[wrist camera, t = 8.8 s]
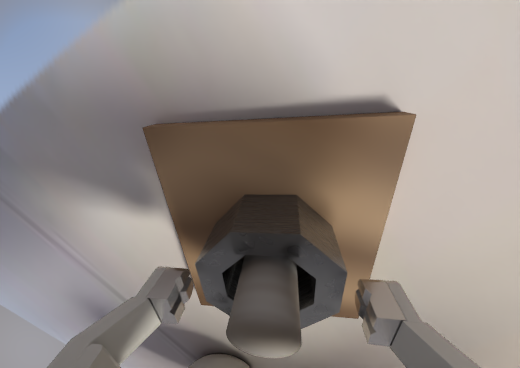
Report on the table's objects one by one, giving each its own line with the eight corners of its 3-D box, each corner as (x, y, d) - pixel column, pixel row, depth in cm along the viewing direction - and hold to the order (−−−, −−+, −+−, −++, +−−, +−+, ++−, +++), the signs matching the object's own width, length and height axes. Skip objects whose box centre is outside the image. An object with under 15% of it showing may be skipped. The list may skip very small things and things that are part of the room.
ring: (324, 282, 12) (335, 334, 10) (227, 275, 13) (212, 322, 11) (335, 194, 10) (355, 236, 7) (210, 194, 10) (184, 230, 8)
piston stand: (353, 304, 15) (392, 427, 9) (205, 293, 16) (167, 392, 11) (402, 111, 8) (601, 152, 3) (154, 124, 10) (8, 165, 5)
